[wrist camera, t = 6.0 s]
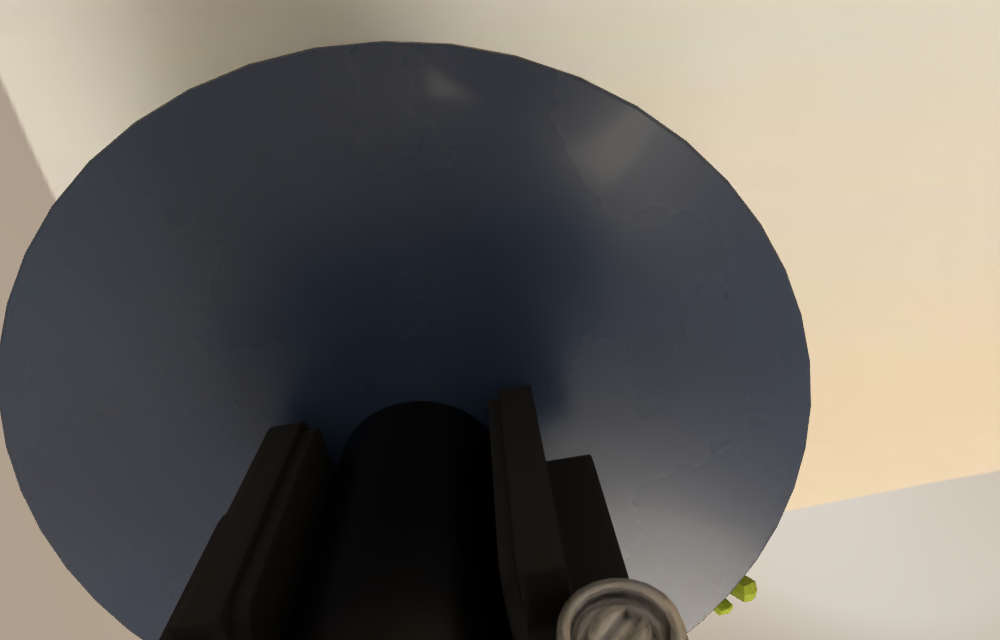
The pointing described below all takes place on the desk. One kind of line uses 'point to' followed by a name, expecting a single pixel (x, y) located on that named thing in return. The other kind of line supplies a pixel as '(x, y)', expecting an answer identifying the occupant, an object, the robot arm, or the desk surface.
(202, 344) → the lid
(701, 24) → the desk surface
